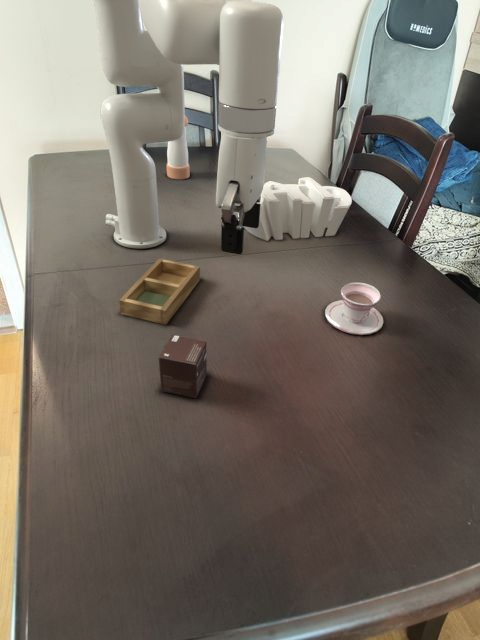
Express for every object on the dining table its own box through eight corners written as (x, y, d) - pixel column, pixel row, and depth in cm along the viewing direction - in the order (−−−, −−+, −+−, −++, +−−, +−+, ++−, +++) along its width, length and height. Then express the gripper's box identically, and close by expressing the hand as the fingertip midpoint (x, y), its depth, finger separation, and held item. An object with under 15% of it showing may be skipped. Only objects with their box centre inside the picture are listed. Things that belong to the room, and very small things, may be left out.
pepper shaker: (188, 180, 146) (186, 114, 134) (165, 178, 146) (161, 112, 134) (191, 172, 152) (190, 109, 140) (169, 170, 152) (166, 106, 140)
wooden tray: (121, 314, 89) (119, 300, 86) (160, 271, 102) (159, 258, 100) (166, 324, 87) (165, 310, 85) (199, 279, 101) (199, 266, 99)
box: (196, 399, 73) (195, 365, 68) (160, 392, 73) (157, 357, 69) (207, 374, 77) (207, 340, 73) (173, 367, 78) (171, 333, 73)
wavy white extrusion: (233, 242, 116) (235, 201, 109) (220, 215, 128) (221, 177, 121) (359, 236, 125) (367, 198, 118) (335, 211, 137) (342, 176, 130)
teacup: (369, 343, 88) (377, 317, 84) (314, 320, 92) (319, 295, 88) (390, 315, 96) (399, 290, 92) (339, 295, 100) (344, 270, 96)
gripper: (237, 103, 68) (233, 214, 78) (197, 129, 54) (199, 259, 65) (287, 109, 67) (276, 221, 77) (258, 138, 53) (249, 268, 64)
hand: (240, 238), depth 71 cm, fingers open, 9 cm apart
